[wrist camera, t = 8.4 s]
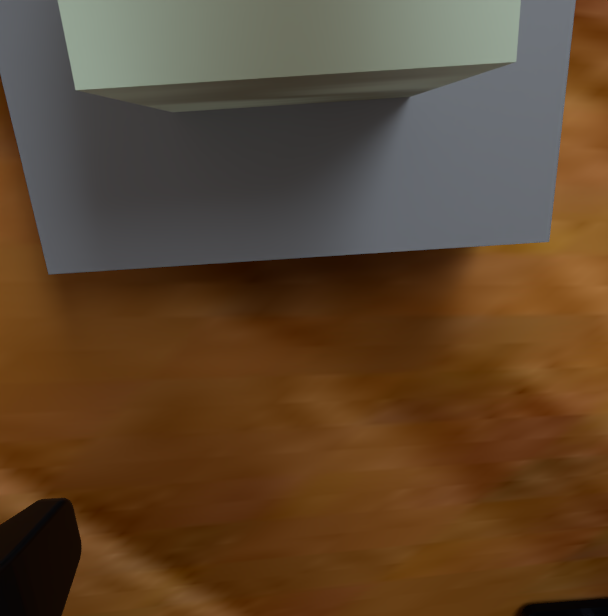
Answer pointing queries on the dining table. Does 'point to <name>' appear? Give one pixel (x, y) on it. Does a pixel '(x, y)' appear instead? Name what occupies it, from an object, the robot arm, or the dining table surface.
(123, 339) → the dining table surface
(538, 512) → the dining table surface
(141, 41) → the green cube
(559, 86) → the plinth
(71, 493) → the dining table surface
